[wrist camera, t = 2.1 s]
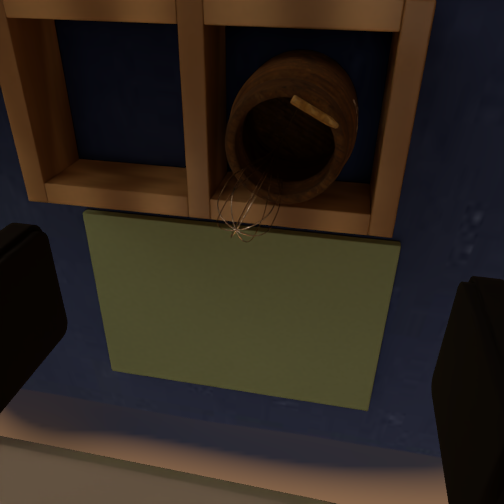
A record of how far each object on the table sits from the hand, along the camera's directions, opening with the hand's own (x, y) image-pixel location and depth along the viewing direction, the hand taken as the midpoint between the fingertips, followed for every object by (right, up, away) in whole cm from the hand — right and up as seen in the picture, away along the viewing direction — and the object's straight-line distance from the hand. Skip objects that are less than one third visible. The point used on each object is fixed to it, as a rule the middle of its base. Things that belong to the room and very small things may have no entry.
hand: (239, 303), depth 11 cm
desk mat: (-1, -3, +23) cm, 23 cm away
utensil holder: (+3, +9, +15) cm, 18 cm away
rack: (-2, +9, +15) cm, 18 cm away
